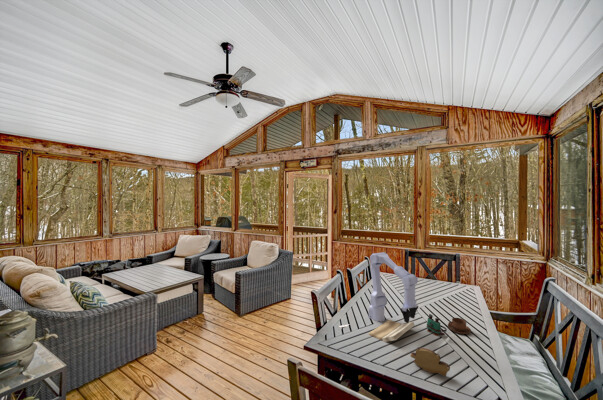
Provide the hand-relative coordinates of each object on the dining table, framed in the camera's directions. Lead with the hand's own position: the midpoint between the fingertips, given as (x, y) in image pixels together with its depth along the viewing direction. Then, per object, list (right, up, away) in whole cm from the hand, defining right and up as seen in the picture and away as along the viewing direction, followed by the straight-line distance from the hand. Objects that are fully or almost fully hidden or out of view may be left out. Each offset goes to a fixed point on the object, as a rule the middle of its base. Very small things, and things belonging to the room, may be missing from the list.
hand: (409, 320), depth 148 cm
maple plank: (-5, -8, +1) cm, 10 cm away
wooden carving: (-3, -11, -28) cm, 30 cm away
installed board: (-11, -10, +7) cm, 17 cm away
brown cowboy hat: (+34, -11, +9) cm, 37 cm away
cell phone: (-32, -11, +7) cm, 35 cm away
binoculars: (+18, -11, +5) cm, 22 cm away
